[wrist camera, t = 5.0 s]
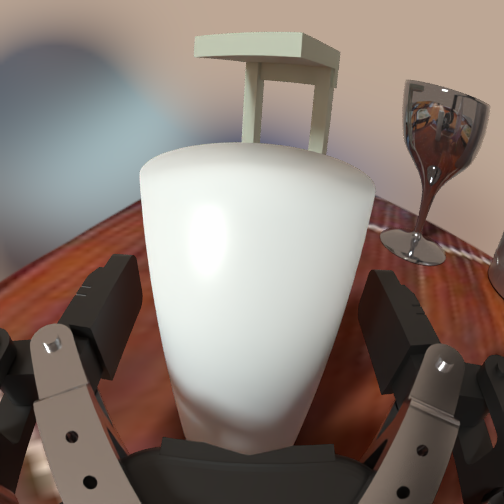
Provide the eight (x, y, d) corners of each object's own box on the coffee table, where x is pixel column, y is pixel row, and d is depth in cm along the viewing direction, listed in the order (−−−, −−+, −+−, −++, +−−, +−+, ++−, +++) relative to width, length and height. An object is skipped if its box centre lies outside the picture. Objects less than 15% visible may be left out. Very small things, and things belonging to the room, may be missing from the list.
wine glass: (359, 234, 29) (387, 75, 21) (404, 221, 32) (430, 90, 25) (425, 277, 23) (473, 95, 15) (460, 255, 27) (500, 111, 19)
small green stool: (321, 204, 34) (340, 51, 26) (282, 238, 27) (302, 32, 18) (245, 183, 39) (253, 46, 30) (192, 209, 31) (194, 36, 22)
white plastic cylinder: (317, 404, 13) (389, 170, 8) (262, 492, 10) (335, 252, 4) (225, 360, 16) (229, 135, 10) (158, 430, 12) (92, 176, 6)
